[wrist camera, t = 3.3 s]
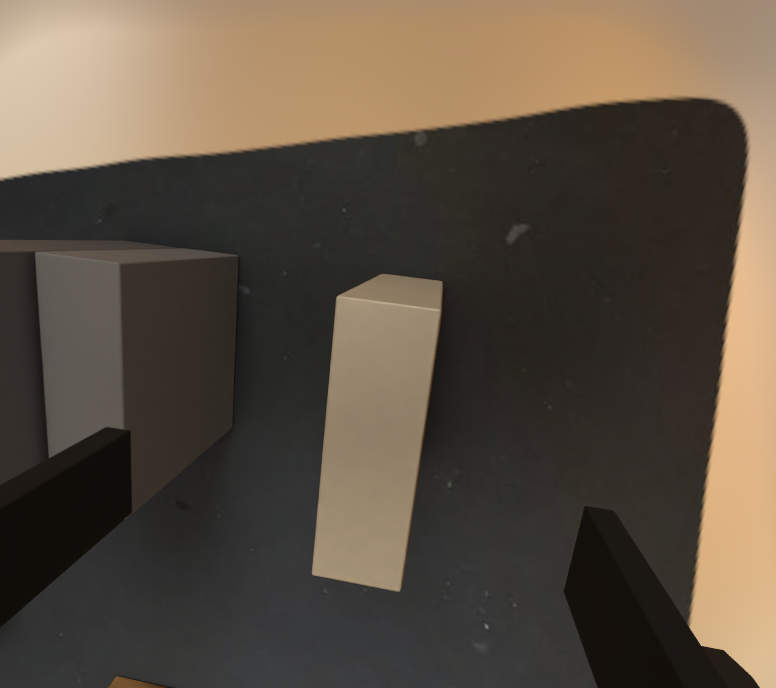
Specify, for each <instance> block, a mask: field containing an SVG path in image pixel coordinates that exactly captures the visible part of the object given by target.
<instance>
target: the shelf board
mask: <svg viewBox="0 0 776 688" xmlns="http://www.w3.org/2000/svg"><path fill="white" fill-rule="evenodd" d="M108 688H167V687H163V686H158V685H154V684H150V683H145V682H141V681H137V680H132V679H128V678H123V677H119V676H116V678H115V679H114V680H113V681H112V683H111V684H110V685H109V687H108Z"/></svg>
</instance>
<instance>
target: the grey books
mask: <svg viewBox="0 0 776 688" xmlns="http://www.w3.org/2000/svg"><path fill="white" fill-rule="evenodd" d="M238 260H239V256H238V255H232V254H224V253H216V252H209V251H201V250H193V249H185V248H176V247H169V246H162V245H154V244H146V243H138V242H130V241H80V240H0V485H1V484H3V483H5V482H6V481H8V480H10V479H12V478H14V477H16V476H17V475H19V474H21V473H23V472H25V471H26V470H28V469H30V468H32V467H34V466H36V465H37V464H39V463H41V462H43V461H45V460H47V459H48V458H50V457H52V456H54V455H56V454H58V453H59V452H61V451H63V450H65V449H67V448H68V447H70V446H72V445H74V444H76V443H78V442H79V441H81V440H83V439H85V438H87V437H89V436H90V435H92V434H94V433H96V432H98V431H100V430H101V429H103V428H105V427H112V428H118V429H124V430H130V431H131V475H132V513H131V514H130V515H129V516H128V517H130V516H131V515H132V514H133V513H134V512H135V511H137V510H138V509H139V508H140V507H141V506H142V505H143V504H145V503H146V502H147V501H148V500H149V499H150V498H152V497H153V496H154V495H155V494H156V493H157V492H158V491H160V490H161V489H162V488H163V487H164V486H165V485H167V484H168V483H169V482H170V481H171V480H172V479H173V478H175V477H176V476H177V475H178V474H179V473H180V472H182V471H183V470H184V469H185V468H186V467H187V466H188V465H190V464H191V463H192V462H193V461H194V460H195V459H197V458H198V457H199V456H200V455H201V454H202V453H203V452H205V451H206V450H207V449H208V448H209V447H210V446H212V445H213V444H214V443H215V442H216V441H217V440H218V439H220V438H221V437H222V436H223V435H224V434H225V433H227V432H228V431H229V430H230V429H231V428H232V424H233V397H234V370H235V342H236V315H237V288H238ZM128 517H126V518H125V519H124V520H126V519H127V518H128Z"/></svg>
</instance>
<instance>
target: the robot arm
mask: <svg viewBox="0 0 776 688" xmlns="http://www.w3.org/2000/svg"><path fill="white" fill-rule="evenodd" d="M131 513H132V475H131V431H130V430H124V429H118V428H112V427H105V428H103V429H101V430H100V431H98V432H96V433H94V434H92V435H90V436H89V437H87V438H85V439H83V440H81V441H79V442H78V443H76V444H74V445H72V446H70V447H68V448H67V449H65V450H63V451H61V452H59V453H58V454H56V455H54V456H52V457H50V458H48V459H47V460H45V461H43V462H41V463H39V464H37V465H36V466H34V467H32V468H30V469H28V470H26V471H25V472H23V473H21V474H19V475H17V476H16V477H14V478H12V479H10V480H8V481H6V482H5V483H3V484H1V485H0V627H1V626H2V625H4V624H5V623H6V622H7V621H8V620H9V619H10V618H12V617H13V616H14V615H15V614H16V613H17V612H18V611H20V610H21V609H22V608H23V607H24V606H25V605H27V604H28V603H29V602H30V601H31V600H32V599H33V598H35V597H36V596H37V595H38V594H39V593H40V592H41V591H43V590H44V589H45V588H46V587H47V586H48V585H49V584H51V583H52V582H53V581H54V580H55V579H56V578H58V577H59V576H60V575H61V574H62V573H63V572H64V571H66V570H67V569H68V568H69V567H70V566H71V565H72V564H74V563H75V562H76V561H77V560H78V559H79V558H81V557H82V556H83V555H84V554H85V553H86V552H87V551H89V550H90V549H91V548H92V547H93V546H94V545H95V544H97V543H98V542H99V541H100V540H101V539H102V538H103V537H105V536H106V535H107V534H108V533H109V532H110V531H112V530H113V529H114V528H115V527H116V526H117V525H118V524H120V523H121V522H122V521H123V520H124V519H125V518H126V517H128V516H129V515H130V514H131ZM564 593H565V596H566V599H567V602H568V605H569V608H570V610H571V613H572V616H573V619H574V622H575V625H576V628H577V630H578V633H579V636H580V639H581V642H582V645H583V647H584V650H585V653H586V656H587V659H588V662H589V665H590V667H591V670H592V673H593V676H594V679H595V682H596V684H597V687H598V688H760V687H759V686H758V685H757V683H756V682H755V680H754V679H753V678H752V676H751V675H749V674H748V673H747V672H746V671H745V670H744V669H743V668H742V667H741V666H740V665H739V664H738V663H737V662H736V661H734V660H733V659H732V658H731V657H730V656H729V655H728V654H727V653H726V652H725V651H724V650H720V649H714V648H709V647H704V646H701V645H700V644H699V642H698V640H697V639H696V637H695V636H694V634H693V633H692V631H691V630H690V628H689V626H688V625H687V623H686V622H685V620H684V619H683V617H682V616H681V614H680V613H679V611H678V609H677V608H676V606H675V605H674V603H673V602H672V600H671V599H670V597H669V595H668V594H667V592H666V591H665V589H664V588H663V586H662V585H661V583H660V581H659V580H658V578H657V577H656V575H655V574H654V572H653V571H652V569H651V568H650V566H649V564H648V563H647V561H646V560H645V558H644V557H643V555H642V554H641V552H640V550H639V549H638V547H637V546H636V544H635V543H634V541H633V540H632V538H631V537H630V535H629V533H628V532H627V530H626V529H625V527H624V526H623V524H622V523H621V521H620V519H619V518H618V516H617V515H616V513H615V512H614V511H612V510H606V509H600V508H594V507H588V506H585V507H584V511H583V516H582V520H581V524H580V528H579V532H578V536H577V540H576V544H575V548H574V552H573V556H572V560H571V564H570V568H569V572H568V576H567V580H566V585H565V589H564Z"/></svg>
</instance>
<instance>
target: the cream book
mask: <svg viewBox="0 0 776 688" xmlns="http://www.w3.org/2000/svg"><path fill="white" fill-rule="evenodd" d="M442 300H443V282H442V281H436V280H428V279H421V278H413V277H405V276H397V275H389V274H381V275H379V276H377V277H375V278H373V279H371V280H369V281H367V282H365V283H363V284H361V285H359V286H357V287H355V288H353V289H351V290H349V291H347V292H345V293H343V294H341V295H339V296H337V298H336V308H335V320H334V331H333V342H332V353H331V365H330V376H329V387H328V398H327V410H326V421H325V432H324V443H323V455H322V466H321V477H320V488H319V500H318V511H317V522H316V533H315V544H314V556H313V567H312V575H315V576H320V577H326V578H331V579H336V580H341V581H346V582H351V583H356V584H362V585H367V586H372V587H377V588H382V589H387V590H392V591H398V592H399V591H400V590H401V584H402V583H403V578H404V572H405V565H406V558H407V551H408V544H409V537H410V530H411V524H412V517H413V510H414V503H415V496H416V489H417V483H418V476H419V469H420V462H421V455H422V448H423V441H424V435H425V428H426V421H427V414H428V407H429V400H430V394H431V387H432V380H433V373H434V366H435V359H436V352H437V346H438V339H439V332H440V325H441V318H442Z"/></svg>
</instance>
